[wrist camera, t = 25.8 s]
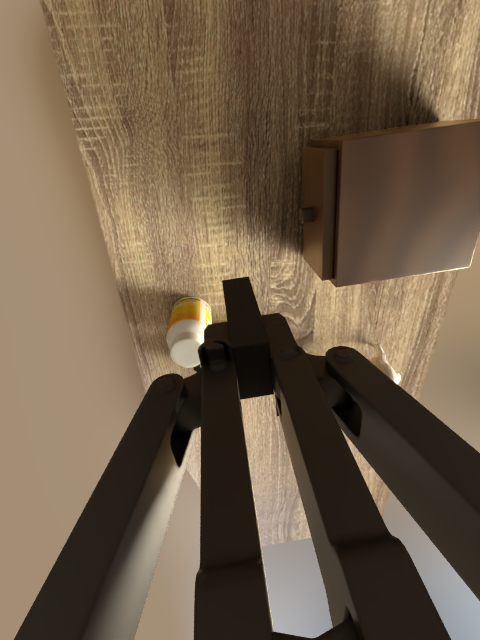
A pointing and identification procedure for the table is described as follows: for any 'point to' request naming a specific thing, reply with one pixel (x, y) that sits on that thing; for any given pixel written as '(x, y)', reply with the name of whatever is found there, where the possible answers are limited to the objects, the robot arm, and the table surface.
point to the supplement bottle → (187, 330)
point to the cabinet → (406, 200)
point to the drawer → (319, 208)
